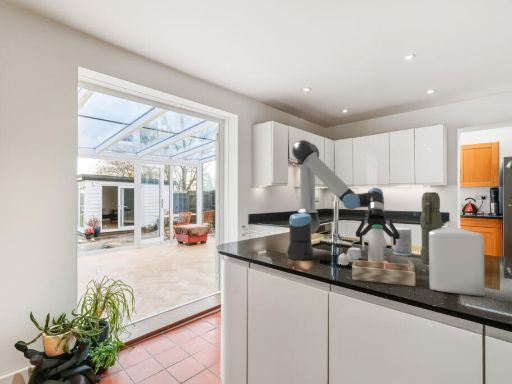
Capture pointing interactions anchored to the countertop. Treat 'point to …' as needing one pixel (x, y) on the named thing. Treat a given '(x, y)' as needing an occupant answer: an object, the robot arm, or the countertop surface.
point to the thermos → (429, 221)
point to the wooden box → (384, 272)
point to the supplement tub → (403, 242)
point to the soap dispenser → (456, 261)
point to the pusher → (386, 262)
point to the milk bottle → (377, 245)
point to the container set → (349, 256)
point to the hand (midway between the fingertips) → (377, 249)
